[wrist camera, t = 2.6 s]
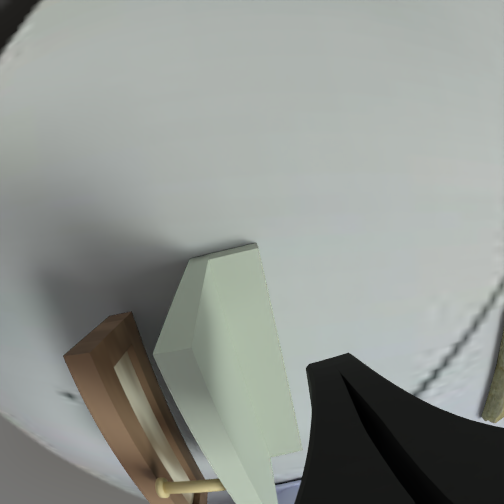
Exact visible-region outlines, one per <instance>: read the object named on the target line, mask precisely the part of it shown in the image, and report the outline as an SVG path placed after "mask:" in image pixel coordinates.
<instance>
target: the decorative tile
mask: <svg viewBox="0 0 504 504" xmlns="http://www.w3.org/2000/svg"><path fill="white" fill-rule="evenodd" d="M503 417H504V329H503V336H502V341H501V345H500V350H499V355H498V360H497V364H496V369H495V372H494V376H493V379H492V383H491V386H490V390H489V394H488V397H487V400H486V403H485V407H484V410H483V413H482V418H483V419H484V420H485V421H487V420H489V421H490V422H492V423H496V422H498V421H499V420H501V419H502V418H503Z"/></svg>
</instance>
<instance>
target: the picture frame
mask: <svg viewBox="0 0 504 504" xmlns="http://www.w3.org/2000/svg"><path fill="white" fill-rule="evenodd" d="M63 357H64V359H65V362H66V364H67V366H68V368H69V371H70V373H71V375H72V377H73V379H74V382H75V384H76V386H77V388H78V390H79V392H80V394H81V396H82V398H83V400H84V402H85V404H86V406H87V408H88V410H89V411H90V413H91V415H92V417H93V419H94V421H95V422H96V424H97V426H98V428H99V429H100V431H101V433H102V434H103V436H104V438H105V439H106V441H107V443H108V444H109V446H110V448H111V449H112V451H113V452H114V454H115V455H116V457H117V458H118V460H119V461H120V463H121V464H122V466H123V467H124V469H125V470H126V472H127V473H128V475H129V476H130V477H131V479H132V480H133V482H134V483H135V484H136V486H137V487H138V488H139V490H140V491H141V492H142V494H143V495H144V496H145V497H146V499H147V500H148V501H149V502H150V504H207V494H208V492H200V493H180V494H170V496H169V497H168V498H160V497H159V496H158V494H157V492H156V489H155V482H156V479H157V478H166V479H167V481H168V482H179V481H196V480H205V479H204V477H203V475H202V473H201V471H200V470H199V468H198V466H197V464H196V462H195V460H194V458H193V456H192V455H191V453H190V451H189V449H188V447H187V445H186V443H185V441H184V439H183V437H182V435H181V433H180V431H179V429H178V426H177V424H176V422H175V420H174V418H173V416H172V414H171V411H170V409H169V407H168V405H167V402H166V400H165V398H164V396H163V393H162V391H161V389H160V386H159V384H158V381H157V379H156V376H155V374H154V372H153V369H152V366H151V364H150V361H149V359H148V356H147V353H146V351H145V348H144V345H143V343H142V340H141V337H140V334H139V331H138V328H137V325H136V323H135V320H134V317H133V314H132V312H127V313H122V314H117V315H112V316H109V317H108V318H107V319H105V320H104V321H103V322H102V323H101V324H100V325H98V326H97V327H96V328H95V329H94V330H92V331H91V332H90V333H89V334H88V335H87V336H85V337H84V338H83V339H82V340H81V341H80V342H79V343H77V344H76V345H75V346H74V347H73V348H72V349H70V350H69V351H68V352H67V353H66V354H65V355H64V356H63Z"/></svg>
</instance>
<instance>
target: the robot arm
mask: <svg viewBox="0 0 504 504" xmlns="http://www.w3.org/2000/svg"><path fill="white" fill-rule="evenodd" d="M306 372H307V379H308V386H309V392H310V399H311V406H312V420H311V430H310V440H309V447H308V453H307V458H306V463H305V467H304V472H303V476H302V479H301V480H297V481H293V482H289V483H284V484H279V485H275V488H276V494H277V500H278V504H504V428H501V427H496V426H492V425H488V424H484V423H480V422H476V421H472V420H469V419H466V418H463V417H460V416H457V415H454V414H452V413H449V412H447V411H444V410H442V409H439V408H437V407H435V406H433V405H431V404H429V403H427V402H425V401H423V400H421V399H419V398H417V397H415V396H413V395H411V394H410V393H408V392H406V391H405V390H403V389H401V388H400V387H398V386H396V385H395V384H393V383H392V382H390V381H388V380H387V379H385V378H384V377H382V376H381V375H379V374H378V373H376V372H375V371H374V370H372V369H371V368H369V367H368V366H366V365H365V364H364V363H362V362H361V361H360V360H358V359H357V358H356V357H354V356H353V355H351V354H350V353H346V354H343V355H340V356H336V357H333V358H329V359H326V360H322V361H319V362H315V363H311V364H309V365H308V366H307V367H306Z"/></svg>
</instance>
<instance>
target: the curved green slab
mask: <svg viewBox="0 0 504 504" xmlns="http://www.w3.org/2000/svg"><path fill="white" fill-rule="evenodd" d="M153 357H154V359H155V361H156V363H157V365H158V368H159V370H160V372H161V374H162V376H163V378H164V380H165V383H166V385H167V387H168V389H169V391H170V393H171V395H172V397H173V399H174V401H175V403H176V405H177V407H178V409H179V410H180V412H181V414H182V416H183V418H184V420H185V422H186V424H187V425H188V427H189V429H190V431H191V433H192V435H193V436H194V438H195V440H196V442H197V443H198V445H199V447H200V448H201V450H202V452H203V454H204V455H205V457H206V459H207V460H208V462H209V464H210V465H211V467H212V468H213V470H214V472H215V473H216V475H217V476H218V479H208V480H196V481H179V482H168V481H167V479H166V478H157V479H156V482H155V489H156V492H157V494H158V496H159V497H160V498H168V497H169V496H170V494H180V493H200V492H213V491H224V490H227V492H228V493H229V495H230V496H231V497H232V499H233V500H234V502H235V503H236V504H278V500H277V494H276V488H275V482H274V476H273V470H272V464H271V458H270V457H275V456H280V455H284V454H289V453H293V452H297V451H301V450H303V449H302V444H301V440H300V435H299V430H298V426H297V421H296V416H295V412H294V407H293V402H292V398H291V393H290V388H289V384H288V379H287V375H286V370H285V365H284V361H283V356H282V352H281V347H280V343H279V338H278V334H277V329H276V324H275V320H274V315H273V311H272V306H271V302H270V297H269V293H268V288H267V284H266V279H265V275H264V271H263V266H262V262H261V257H260V253H259V248H258V246H257V243H254V244H249V245H245V246H241V247H237V248H233V249H228V250H224V251H220V252H216V253H212V254H207V255H203V256H199V257H195V258H191V259H190V260H189V262H188V264H187V267H186V269H185V272H184V274H183V277H182V279H181V282H180V284H179V287H178V289H177V292H176V294H175V297H174V299H173V302H172V304H171V307H170V309H169V312H168V315H167V317H166V320H165V322H164V325H163V328H162V330H161V333H160V336H159V338H158V341H157V344H156V346H155V349H154V352H153Z"/></svg>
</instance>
